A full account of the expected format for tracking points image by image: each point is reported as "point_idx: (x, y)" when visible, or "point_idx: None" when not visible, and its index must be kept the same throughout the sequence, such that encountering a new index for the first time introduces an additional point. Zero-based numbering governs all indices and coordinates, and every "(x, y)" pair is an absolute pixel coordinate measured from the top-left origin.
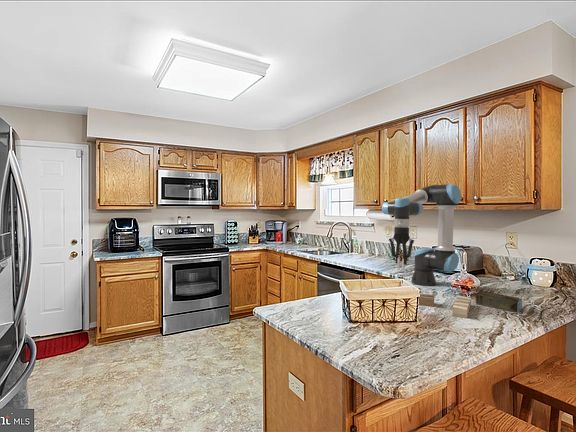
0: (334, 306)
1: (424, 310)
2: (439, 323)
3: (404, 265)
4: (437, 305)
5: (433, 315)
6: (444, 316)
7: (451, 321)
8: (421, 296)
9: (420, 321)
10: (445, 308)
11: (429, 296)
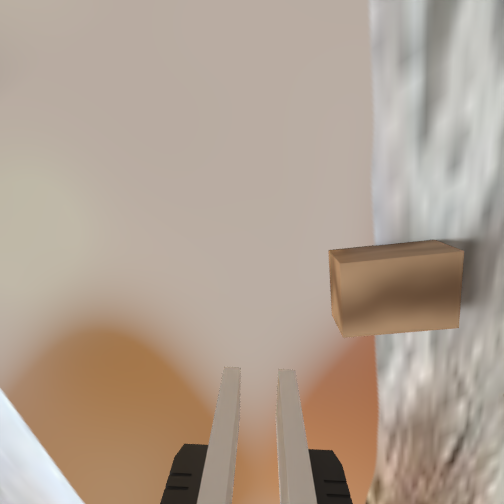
0: (59, 488)
1: (389, 380)
2: (444, 492)
3: (301, 422)
4: None
5: (426, 424)
6: (469, 416)
7: (489, 457)
8: (387, 319)
9: (380, 500)
10: (485, 305)
11: (433, 296)
